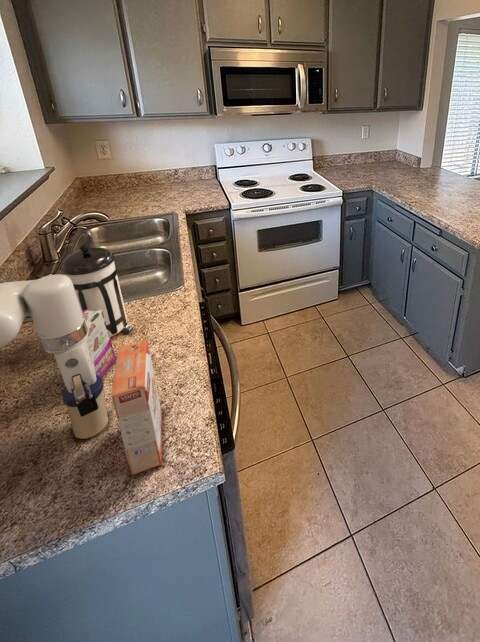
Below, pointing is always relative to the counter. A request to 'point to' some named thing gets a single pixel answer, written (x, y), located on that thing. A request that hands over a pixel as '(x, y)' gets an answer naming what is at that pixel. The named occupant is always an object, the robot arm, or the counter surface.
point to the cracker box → (138, 406)
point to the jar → (89, 420)
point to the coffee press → (97, 285)
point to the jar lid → (96, 389)
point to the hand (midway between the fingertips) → (88, 398)
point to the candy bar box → (98, 341)
